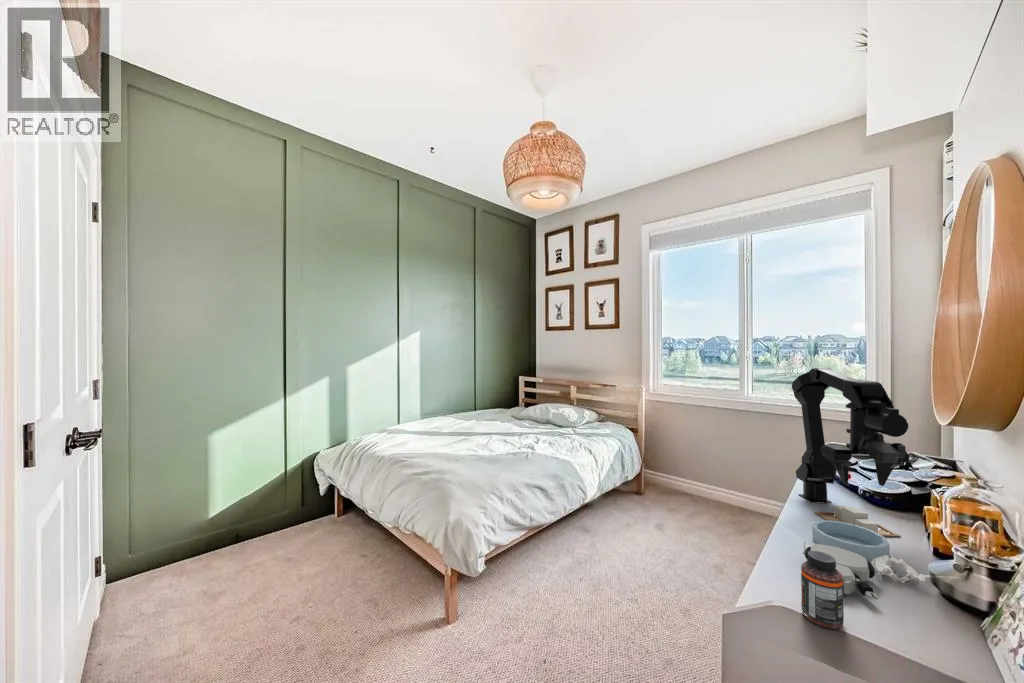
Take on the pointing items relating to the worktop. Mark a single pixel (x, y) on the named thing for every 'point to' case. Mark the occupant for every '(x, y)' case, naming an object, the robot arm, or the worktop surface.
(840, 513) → the tan cube
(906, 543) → the worktop surface
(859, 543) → the bowl
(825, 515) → the tray
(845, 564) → the robot toy
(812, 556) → the supplement bottle
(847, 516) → the beige cube
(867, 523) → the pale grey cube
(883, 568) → the white animal skull
